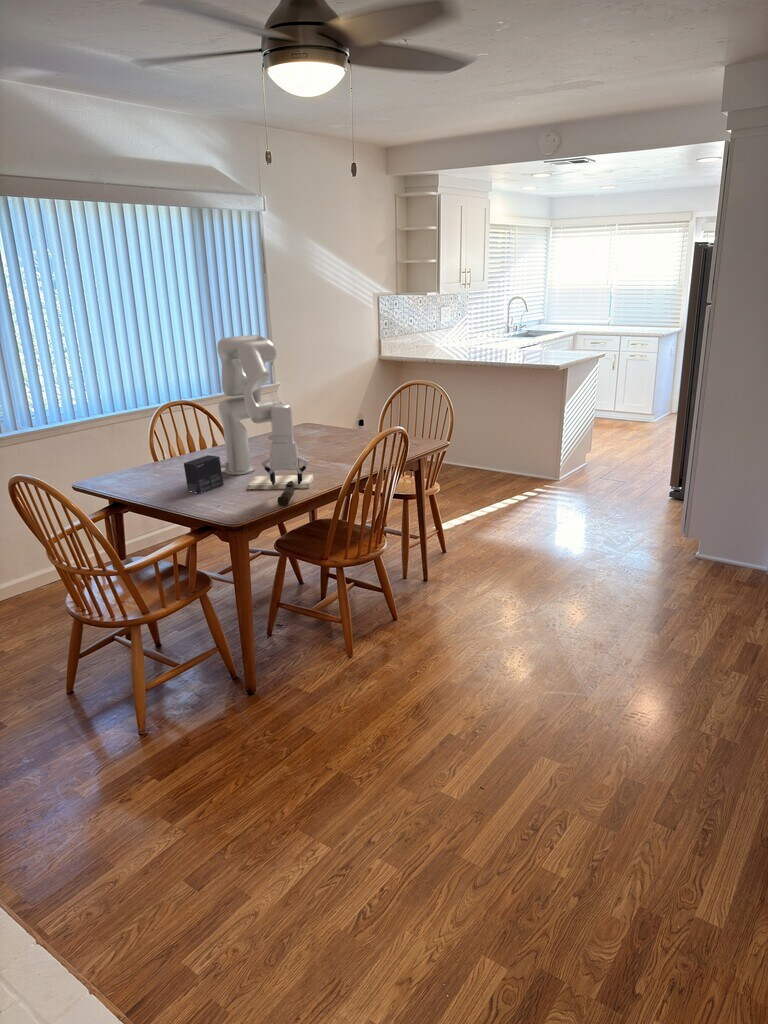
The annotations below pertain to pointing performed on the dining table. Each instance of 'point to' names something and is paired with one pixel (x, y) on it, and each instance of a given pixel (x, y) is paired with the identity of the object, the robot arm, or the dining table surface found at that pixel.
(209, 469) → the small box
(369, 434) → the dining table surface
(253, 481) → the birch board
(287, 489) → the hand tool
